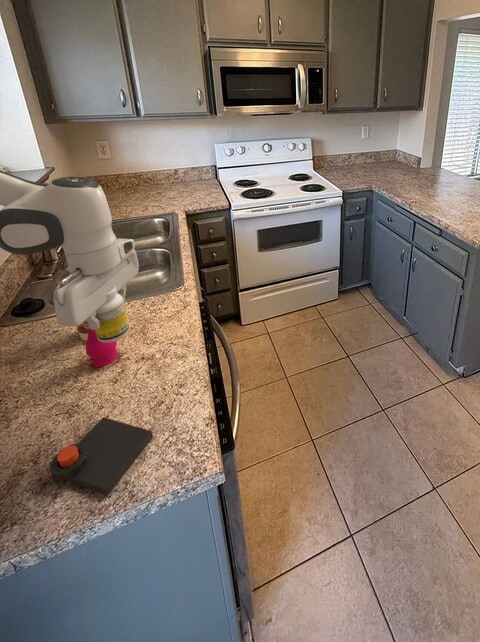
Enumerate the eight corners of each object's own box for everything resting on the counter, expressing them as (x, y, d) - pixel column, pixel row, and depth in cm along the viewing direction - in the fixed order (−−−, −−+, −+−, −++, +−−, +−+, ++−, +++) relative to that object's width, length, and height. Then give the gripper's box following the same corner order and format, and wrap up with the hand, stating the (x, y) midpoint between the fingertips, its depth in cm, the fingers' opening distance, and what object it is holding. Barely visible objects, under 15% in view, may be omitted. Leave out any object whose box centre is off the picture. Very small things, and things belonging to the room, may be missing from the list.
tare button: (55, 465, 69) (53, 458, 68) (70, 449, 72) (68, 443, 71) (68, 469, 68) (65, 463, 67) (83, 453, 71) (81, 447, 70)
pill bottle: (99, 329, 78) (87, 286, 75) (130, 321, 81) (120, 279, 77) (95, 347, 73) (82, 301, 69) (129, 338, 76) (118, 293, 72)
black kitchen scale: (47, 481, 69) (41, 469, 68) (103, 422, 81) (99, 411, 79) (103, 502, 65) (98, 489, 64) (153, 437, 77) (150, 425, 76)
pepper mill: (104, 348, 103) (87, 288, 96) (125, 351, 102) (110, 291, 95) (83, 366, 97) (63, 304, 90) (106, 370, 95) (88, 307, 88)
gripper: (69, 286, 61) (88, 351, 65) (138, 237, 80) (149, 290, 85) (35, 285, 61) (56, 349, 66) (112, 236, 80) (124, 289, 85)
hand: (109, 315), depth 75 cm, fingers closed on pill bottle, 6 cm apart
